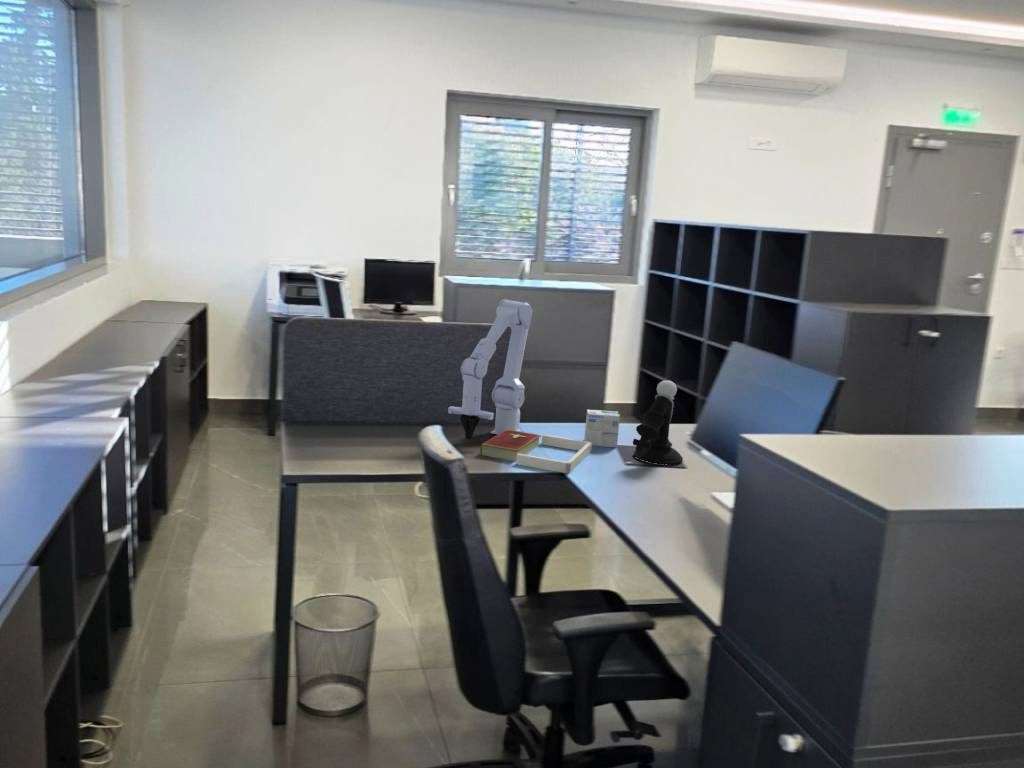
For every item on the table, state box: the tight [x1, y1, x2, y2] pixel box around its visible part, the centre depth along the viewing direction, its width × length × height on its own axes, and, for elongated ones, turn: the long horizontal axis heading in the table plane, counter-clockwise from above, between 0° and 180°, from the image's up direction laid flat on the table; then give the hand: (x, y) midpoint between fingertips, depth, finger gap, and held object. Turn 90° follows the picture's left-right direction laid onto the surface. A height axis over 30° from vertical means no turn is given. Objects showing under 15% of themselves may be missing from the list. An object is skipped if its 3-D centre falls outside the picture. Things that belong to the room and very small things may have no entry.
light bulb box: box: [583, 409, 621, 448], centre depth 280 cm, size 11×7×11 cm, turn 89°
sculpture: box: [632, 379, 684, 466], centre depth 264 cm, size 15×24×25 cm, turn 147°
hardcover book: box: [479, 429, 542, 462], centre depth 265 cm, size 12×21×4 cm, turn 159°
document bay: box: [515, 434, 593, 474], centre depth 261 cm, size 26×16×3 cm, turn 161°
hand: (469, 438), depth 270 cm, fingers closed
